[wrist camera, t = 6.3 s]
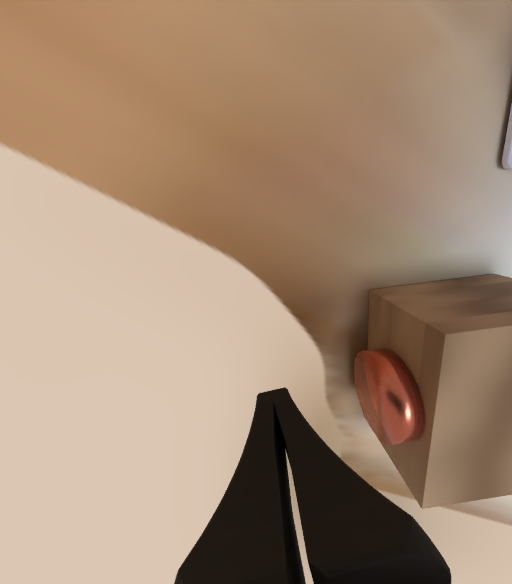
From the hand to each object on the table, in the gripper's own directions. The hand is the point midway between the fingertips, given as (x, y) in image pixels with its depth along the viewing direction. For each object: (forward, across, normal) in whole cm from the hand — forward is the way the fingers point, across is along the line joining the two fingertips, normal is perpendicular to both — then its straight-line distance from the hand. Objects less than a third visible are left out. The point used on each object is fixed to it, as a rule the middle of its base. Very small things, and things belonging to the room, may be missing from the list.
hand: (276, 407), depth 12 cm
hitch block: (+5, -10, +3) cm, 12 cm away
